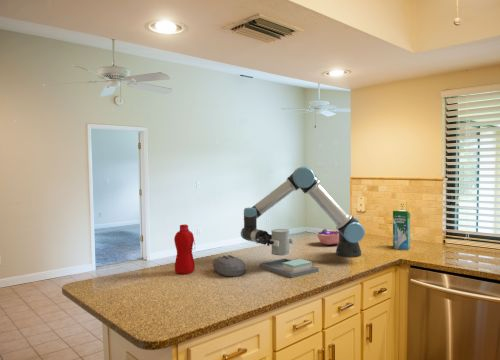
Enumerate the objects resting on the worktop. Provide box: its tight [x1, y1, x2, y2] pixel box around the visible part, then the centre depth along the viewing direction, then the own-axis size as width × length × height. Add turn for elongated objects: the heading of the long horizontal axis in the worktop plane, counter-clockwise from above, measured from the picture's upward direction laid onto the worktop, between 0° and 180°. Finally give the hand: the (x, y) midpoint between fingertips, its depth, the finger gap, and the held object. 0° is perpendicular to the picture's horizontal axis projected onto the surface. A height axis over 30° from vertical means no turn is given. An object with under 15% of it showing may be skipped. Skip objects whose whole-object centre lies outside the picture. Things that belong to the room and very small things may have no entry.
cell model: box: [315, 228, 339, 246], centre depth 264 cm, size 17×20×11 cm
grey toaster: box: [212, 254, 246, 277], centre depth 197 cm, size 15×8×20 cm
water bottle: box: [173, 224, 196, 275], centre depth 198 cm, size 9×11×25 cm
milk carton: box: [392, 209, 411, 251], centre depth 249 cm, size 9×9×25 cm
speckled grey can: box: [271, 228, 290, 256], centre depth 201 cm, size 10×10×12 cm
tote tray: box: [258, 258, 319, 279], centre depth 197 cm, size 26×18×3 cm
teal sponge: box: [282, 258, 313, 273], centre depth 191 cm, size 8×12×5 cm
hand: (285, 242), depth 198 cm, fingers closed on speckled grey can, 9 cm apart
